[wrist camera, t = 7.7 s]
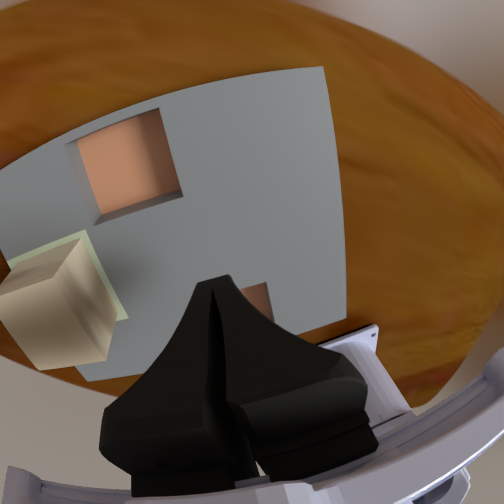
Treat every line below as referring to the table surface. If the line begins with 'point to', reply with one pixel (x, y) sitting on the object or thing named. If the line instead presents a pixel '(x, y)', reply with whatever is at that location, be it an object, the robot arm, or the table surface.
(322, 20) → the table surface
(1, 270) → the table surface
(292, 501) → the robot arm
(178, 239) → the board
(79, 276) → the beech block
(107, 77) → the table surface
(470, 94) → the table surface
